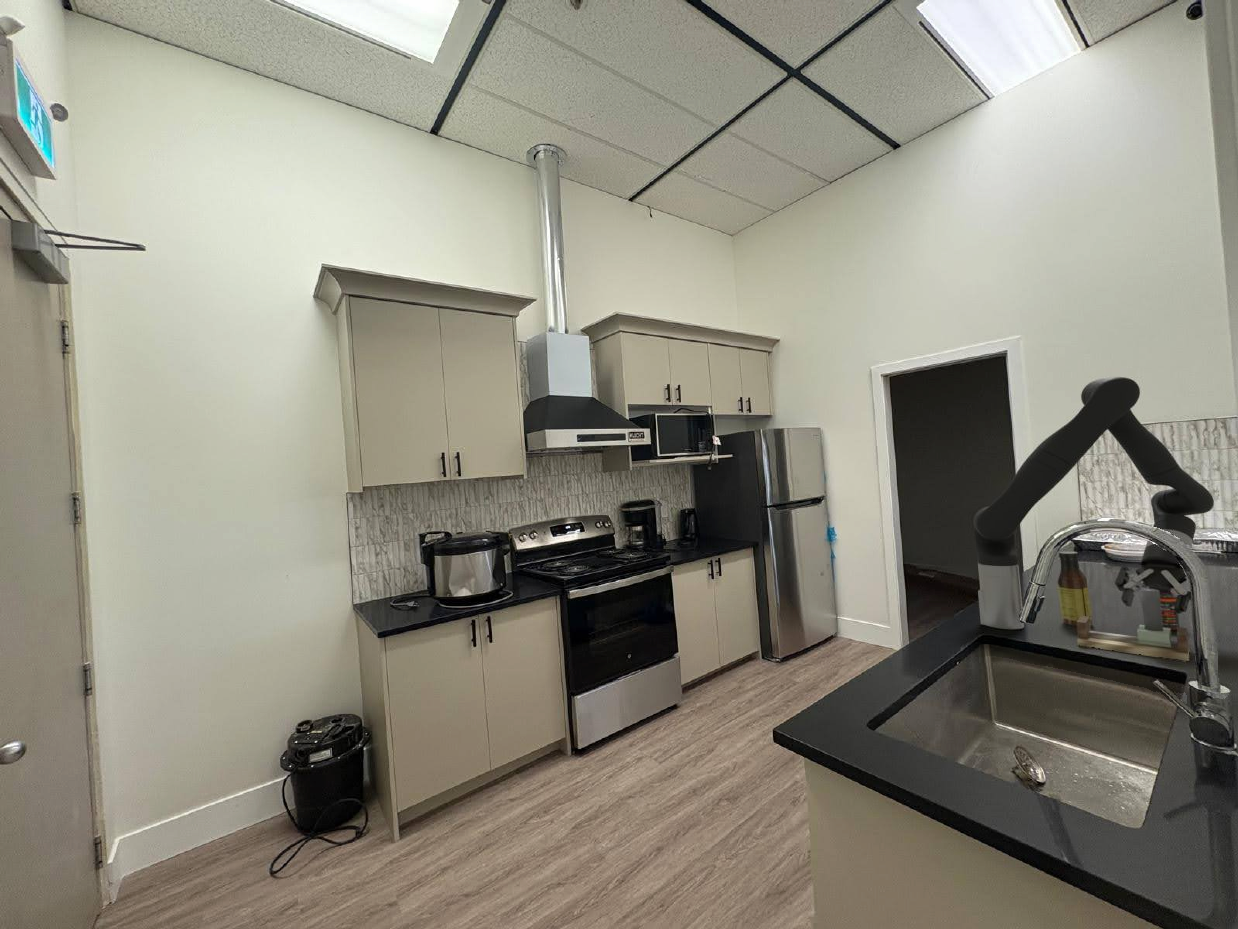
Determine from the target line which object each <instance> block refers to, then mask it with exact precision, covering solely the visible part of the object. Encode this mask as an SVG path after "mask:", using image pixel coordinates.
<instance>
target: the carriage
mask: <svg viewBox="0 0 1238 929" xmlns="http://www.w3.org/2000/svg"><path fill="white" fill-rule="evenodd" d="M1140 594H1141V596H1140V597H1141V606H1142V617H1143V624H1139V625H1138V628H1137V630H1136V631H1137V637H1138V639H1139V643H1140V644H1148V645H1155V646H1162V647H1170V648H1171V641H1172V630H1171V628H1163V622H1162V613H1161V603H1160V594H1159V590H1155V589H1149V588H1146V589H1141V590H1140Z"/></svg>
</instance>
